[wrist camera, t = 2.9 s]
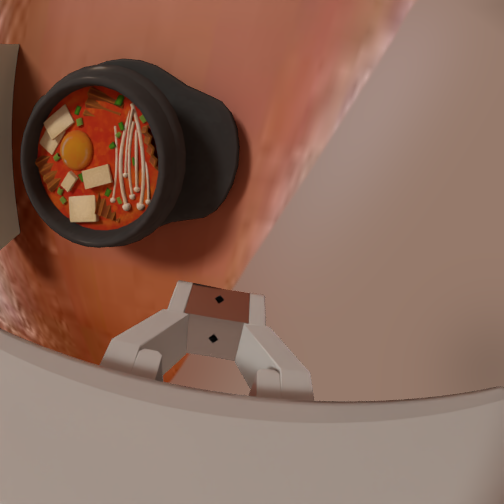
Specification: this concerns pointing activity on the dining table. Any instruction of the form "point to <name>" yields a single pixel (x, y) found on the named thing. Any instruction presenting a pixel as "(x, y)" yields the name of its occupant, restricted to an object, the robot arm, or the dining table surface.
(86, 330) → the dining table surface
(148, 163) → the casserole
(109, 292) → the dining table surface
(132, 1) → the dining table surface
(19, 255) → the dining table surface
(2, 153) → the board
